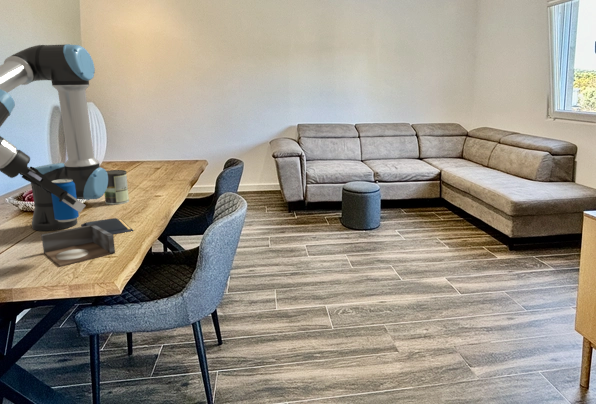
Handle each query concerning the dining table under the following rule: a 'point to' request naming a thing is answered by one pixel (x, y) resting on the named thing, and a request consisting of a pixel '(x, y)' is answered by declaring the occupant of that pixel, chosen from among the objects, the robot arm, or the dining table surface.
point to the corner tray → (78, 244)
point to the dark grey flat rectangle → (111, 225)
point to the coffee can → (116, 187)
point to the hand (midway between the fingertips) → (78, 206)
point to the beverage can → (61, 208)
